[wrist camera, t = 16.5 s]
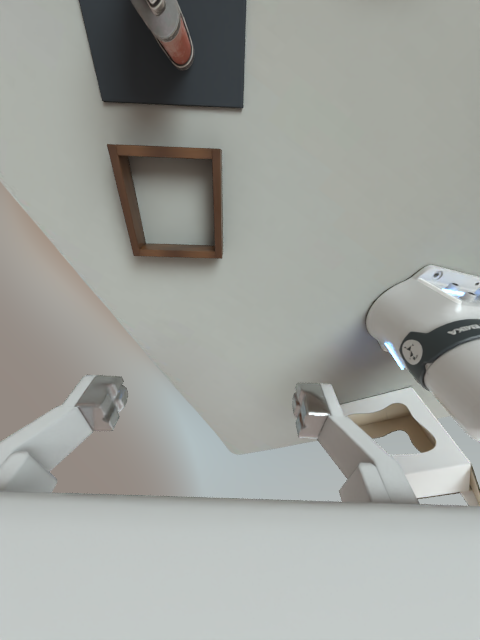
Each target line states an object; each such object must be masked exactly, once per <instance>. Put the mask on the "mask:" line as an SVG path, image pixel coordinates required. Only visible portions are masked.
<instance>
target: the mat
mask: <svg viewBox="0 0 480 640" xmlns="http://www.w3.org/2000/svg"><path fill="white" fill-rule="evenodd" d="M79 2H80V6H81V10H82V15H83V19H84V23H85V28H86V32H87V36H88V41H89V45H90V49H91V54H92V58H93V62H94V67H95V71H96V75H97V80H98V84H99V88H100V93H101V97H102V101H104V102H122V103H143V104H165V105H186V106H208V107H229V108H243V91H244V58H245V24H246V0H177V3H178V5H179V7H180V10H181V12H182V15H183V17H184V20H185V22H186V25H187V28H188V31H189V34H190V37H191V40H192V44H193V47H194V60H193V63H192V64H191V66H190V67H189V68H188V69H186V70H180V69H177V68H176V67H175V66H174V65H173V63H172V62H171V60H170V59H169V58H168V56H167V55H166V54H165V52H164V51H163V49H162V48H161V46H160V45H159V43H158V41H157V40H156V38H155V36H154V35H153V33H152V31H151V30H150V29H149V28H148V26H147V25H146V23H145V22H144V20H143V19H142V17H141V16H140V15H139V13H138V12H137V10H136V9H135V7H134V5H133V4H132V2H131V0H79Z"/></svg>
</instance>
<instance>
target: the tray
mask: <svg viewBox="0 0 480 640" xmlns="http://www.w3.org/2000/svg"><path fill="white" fill-rule="evenodd" d="M107 147H108V151H109V155H110V159H111V163H112V167H113V172H114V176H115V180H116V184H117V188H118V192H119V196H120V200H121V205H122V209H123V213H124V217H125V221H126V225H127V229H128V233H129V238H130V242H131V246H132V250H133V254H134V256H154V257H189V258H222V255H223V202H222V150H221V149H209V148H185V147H161V146H137V145H113V144H107ZM128 156H137V157H162V158H187V159H211V160H212V169H213V201H214V234H215V246H210V245H177V244H146V242H145V237H144V232H143V227H142V223H141V218H140V213H139V208H138V203H137V198H136V193H135V188H134V184H133V179H132V174H131V169H130V164H129V159H128Z"/></svg>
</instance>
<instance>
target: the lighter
mask: <svg viewBox="0 0 480 640" xmlns="http://www.w3.org/2000/svg"><path fill="white" fill-rule="evenodd" d="M131 2H132V4H133V5H134V7H135V9H136V10H137V12H138V13H139V15H140V16H141V17H142V19H143V20H144V22H145V23H146V25H147V26H148V28H149V29H150V30H151V31H152V33H153V35H154V36H155V38H156V40H157V41H158V43H159V45H160V46H161V48H162V49H163V51H164V52H165V54H166V55H167V56H168V58H169V59H170V60H171V62H172V63H173V65H174V66H175V67H176V68H177V69H180V70H186V69H188V68H189V67H190V66H191V64H192V63H193V60H194V47H193V44H192V40H191V37H190V34H189V31H188V28H187V25H186V22H185V20H184V17H183V15H182V12H181V10H180V7H179V5H178V3H177V0H131Z"/></svg>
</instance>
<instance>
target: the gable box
mask: <svg viewBox="0 0 480 640" xmlns="http://www.w3.org/2000/svg"><path fill="white" fill-rule="evenodd" d="M340 407H341V409H342V412H343V414H344V416H348V417H349V418H350V419H351V420H352V421H353V422H354V423H355V424H357V425H358V426H359V427H360V428H361V429H362V430H363V431H364V432H365V433H366V434H367V435H369V436H370V437H371V438H372V439H373V438H380V437H383V436H385V435H387V434H389V433H391V432H394V431H397V430H402V431H405V432H406V433H407V434H408V435H409V437H410V440H411V442H412V443H413V445H414V446H415V447H416V449H418V451H420V452H421V453H419V454H406V455H405V454H404V455H390V456H392V457H393V458H394V459H395V460H396V461H397V462H398V463H399V465H400V467H401V468H402V470H403V472H404V474H405V476H406V478H407V480H408V482H409V484H410V486H411V488H412V490H413V492H414V494H415V496H416V498H417V499H422V498H428V497H435V496H442V495H449V494H456V493H460V494H461V495H462V497H463V498H464V500H465V501H466V503H467V504H468V506H480V488H479V485H478V482H477V480H476V476H475V473H474V470H473V467H472V464H471V463H470V461H469V460H468V459H467V457H466V456H465V455H464V453H463V452H462V451H461V450H460V448H459V447H458V446H457V444H456V443H455V442H454V441H453V439H452V438H451V437H450V436H449V434H448V433H447V432H446V430H445V429H444V428H443V426H441V424H440V423H439V421H438V420H437V419H436V417H435V416H434V415H433V414H432V412H431V411H430V410H429V408H428V407H427V406H426V405H425V403H424V402H423V401H422V400H421V398H420V397H419V396H418V394H417V393H416V392H415V391H414V389H413V388H412V387H408V388H404V389H400V390H396V391H392V392H388V393H384V394H380V395H376V396H372V397H368V398H364V399H360V400H356V401H352V402H349V403H345V404H341V405H340Z"/></svg>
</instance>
